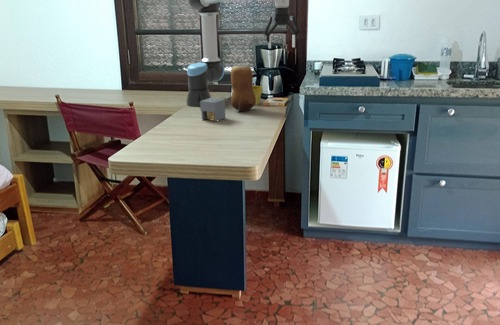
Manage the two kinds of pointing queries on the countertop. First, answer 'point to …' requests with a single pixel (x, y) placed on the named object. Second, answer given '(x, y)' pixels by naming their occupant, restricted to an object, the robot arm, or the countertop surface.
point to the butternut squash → (242, 88)
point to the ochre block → (211, 115)
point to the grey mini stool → (213, 107)
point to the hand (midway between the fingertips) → (281, 47)
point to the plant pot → (257, 93)
